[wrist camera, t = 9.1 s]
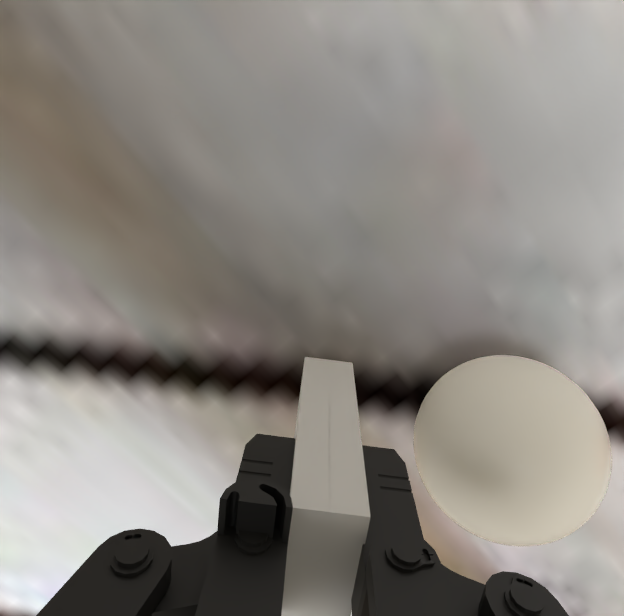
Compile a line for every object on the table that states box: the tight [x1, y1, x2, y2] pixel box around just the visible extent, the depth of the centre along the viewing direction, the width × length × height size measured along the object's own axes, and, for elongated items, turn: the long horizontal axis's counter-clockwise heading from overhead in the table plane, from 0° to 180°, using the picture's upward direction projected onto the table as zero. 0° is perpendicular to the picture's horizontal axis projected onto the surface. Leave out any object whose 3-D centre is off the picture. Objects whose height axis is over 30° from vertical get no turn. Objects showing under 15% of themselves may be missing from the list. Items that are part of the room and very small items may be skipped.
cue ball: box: [413, 355, 612, 546], centre depth 15 cm, size 6×6×6 cm
